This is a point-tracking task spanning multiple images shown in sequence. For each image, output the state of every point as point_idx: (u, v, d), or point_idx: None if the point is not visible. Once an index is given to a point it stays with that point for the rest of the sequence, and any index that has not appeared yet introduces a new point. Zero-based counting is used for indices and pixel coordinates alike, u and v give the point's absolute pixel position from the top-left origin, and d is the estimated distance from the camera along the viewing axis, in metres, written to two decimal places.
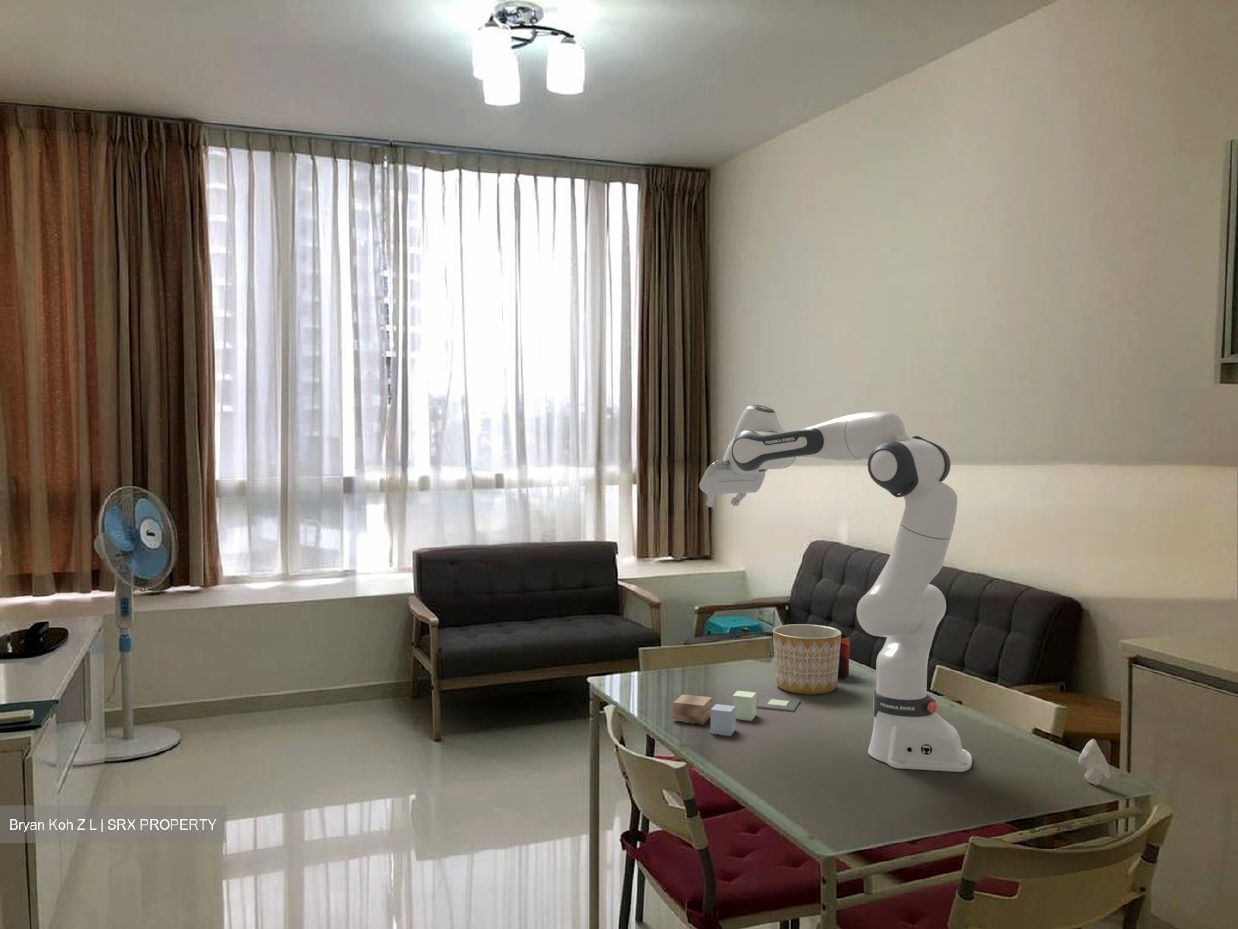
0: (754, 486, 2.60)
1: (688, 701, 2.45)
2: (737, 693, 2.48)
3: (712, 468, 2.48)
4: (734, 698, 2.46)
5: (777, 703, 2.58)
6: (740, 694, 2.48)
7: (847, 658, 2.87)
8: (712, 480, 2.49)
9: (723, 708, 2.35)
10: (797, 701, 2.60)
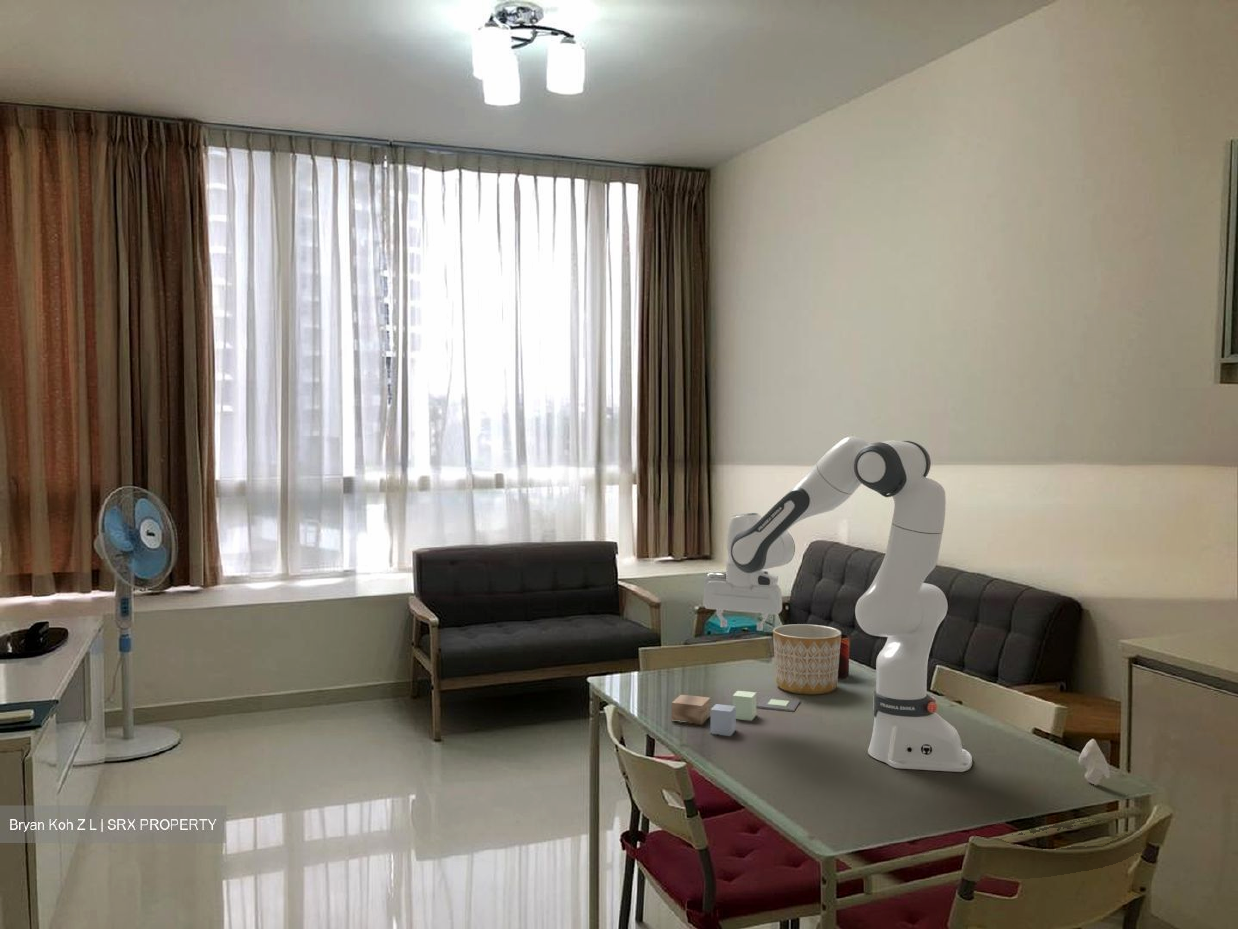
0: (770, 606, 2.44)
1: (686, 702, 2.45)
2: (737, 693, 2.48)
3: (705, 580, 2.50)
4: (734, 698, 2.46)
5: (777, 703, 2.58)
6: (740, 694, 2.48)
7: (847, 658, 2.87)
8: (705, 592, 2.49)
9: (723, 708, 2.35)
10: (797, 701, 2.60)
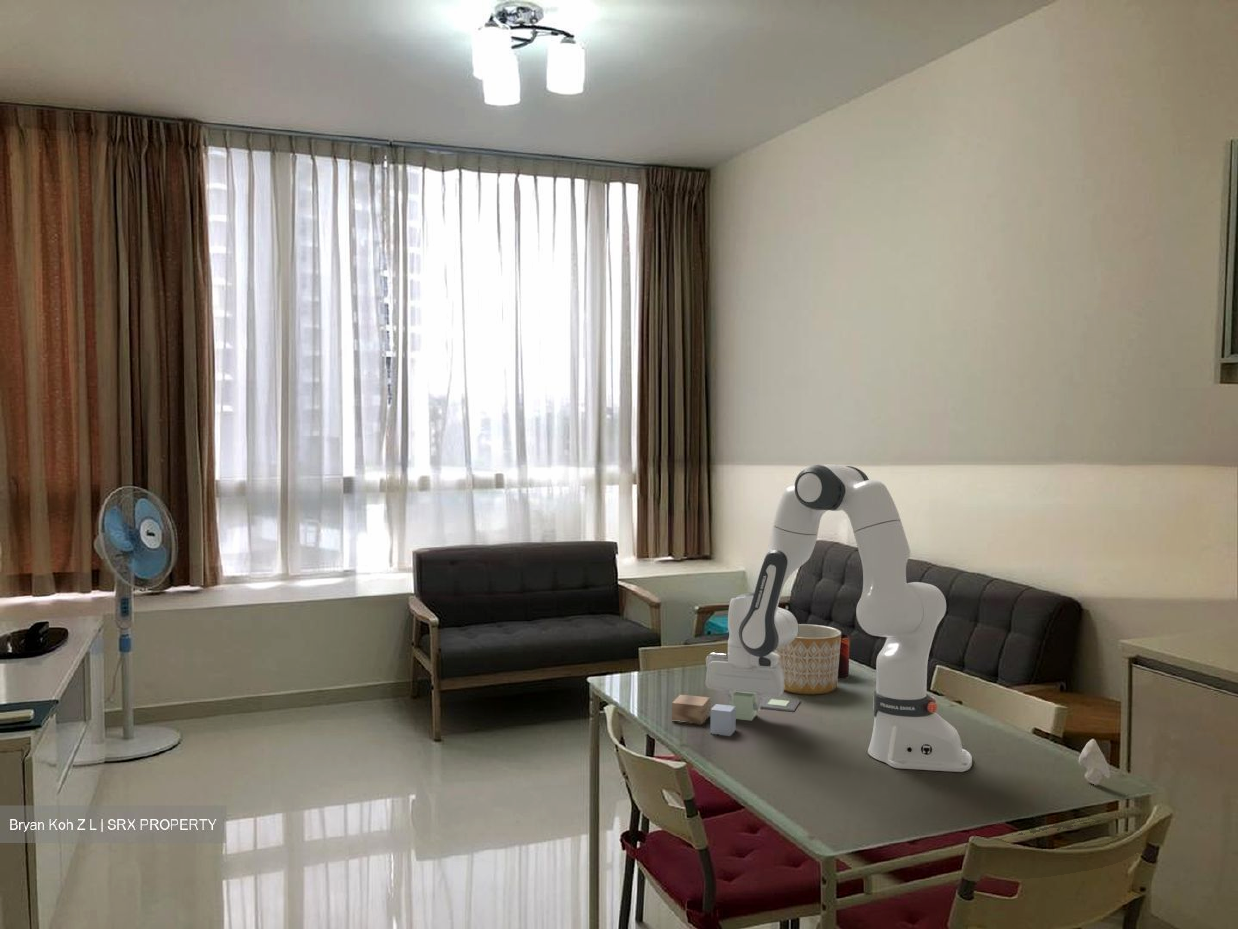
0: (771, 687, 2.43)
1: (687, 702, 2.44)
2: (737, 693, 2.48)
3: (707, 660, 2.51)
4: (734, 698, 2.46)
5: (777, 703, 2.58)
6: (740, 694, 2.48)
7: (847, 658, 2.88)
8: (707, 672, 2.49)
9: (723, 708, 2.35)
10: (797, 701, 2.60)
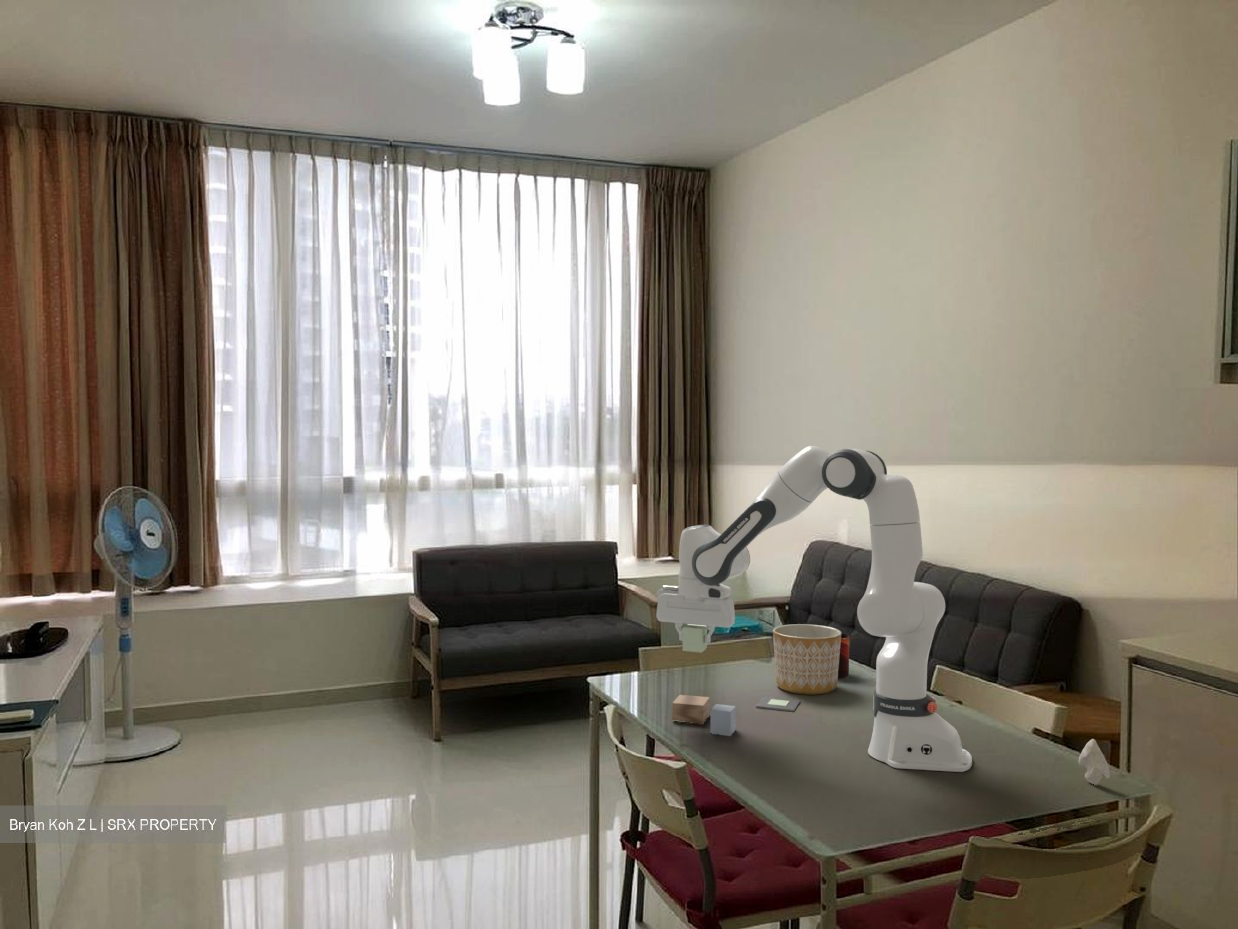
0: (721, 618, 2.42)
1: (687, 702, 2.44)
2: (688, 625, 2.47)
3: (659, 592, 2.49)
4: (684, 630, 2.45)
5: (777, 703, 2.58)
6: (690, 626, 2.46)
7: (847, 658, 2.88)
8: (658, 604, 2.48)
9: (723, 708, 2.35)
10: (797, 701, 2.60)
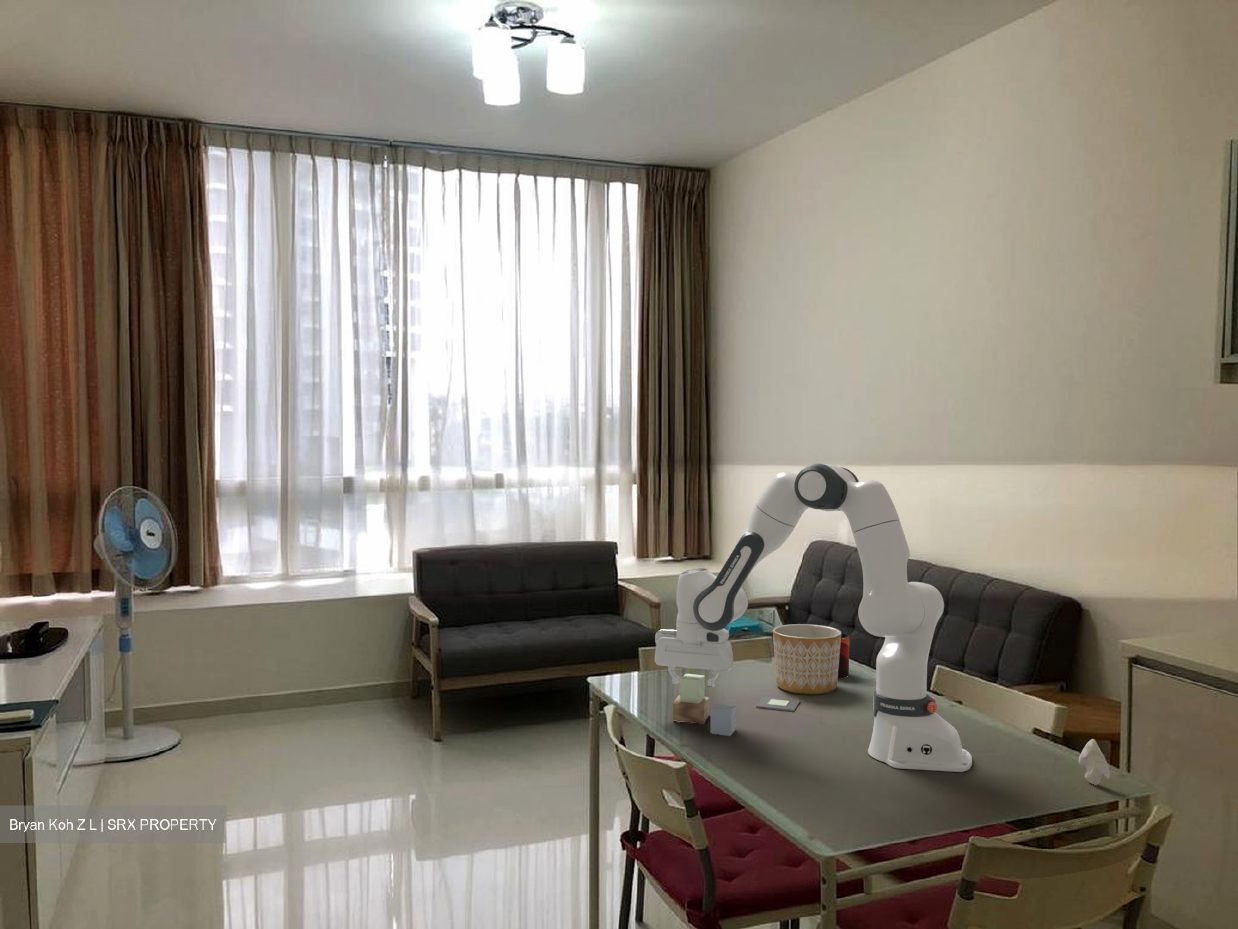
0: (719, 662, 2.42)
1: (687, 702, 2.44)
2: (685, 676, 2.47)
3: (657, 636, 2.49)
4: (681, 681, 2.45)
5: (777, 703, 2.58)
6: (687, 677, 2.46)
7: (847, 657, 2.88)
8: (656, 648, 2.48)
9: (723, 708, 2.35)
10: (797, 701, 2.60)
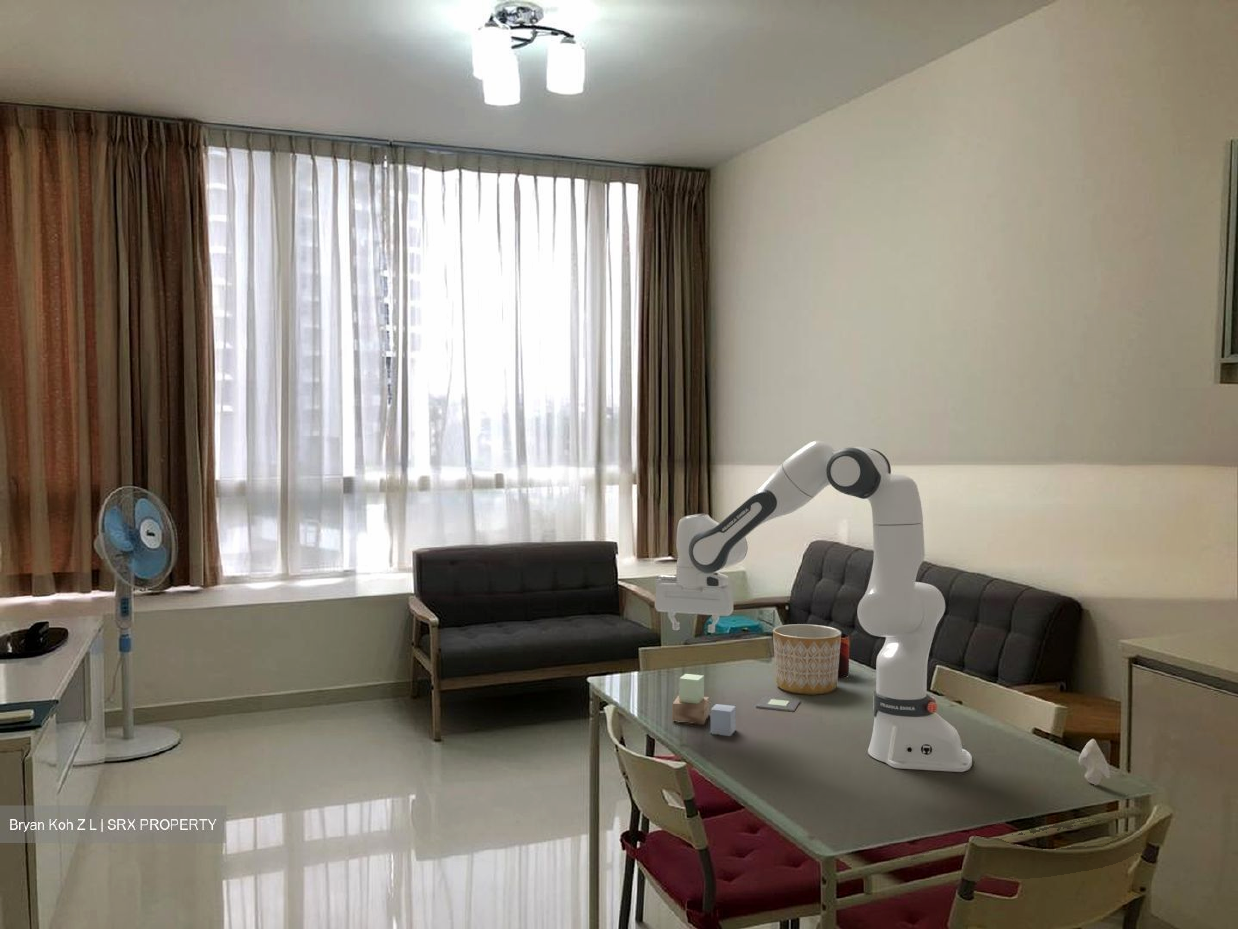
0: (720, 607, 2.41)
1: None
2: (684, 676, 2.47)
3: (657, 583, 2.49)
4: (681, 681, 2.45)
5: (777, 703, 2.58)
6: (687, 677, 2.46)
7: (847, 657, 2.88)
8: (656, 594, 2.47)
9: (723, 708, 2.35)
10: (797, 701, 2.60)
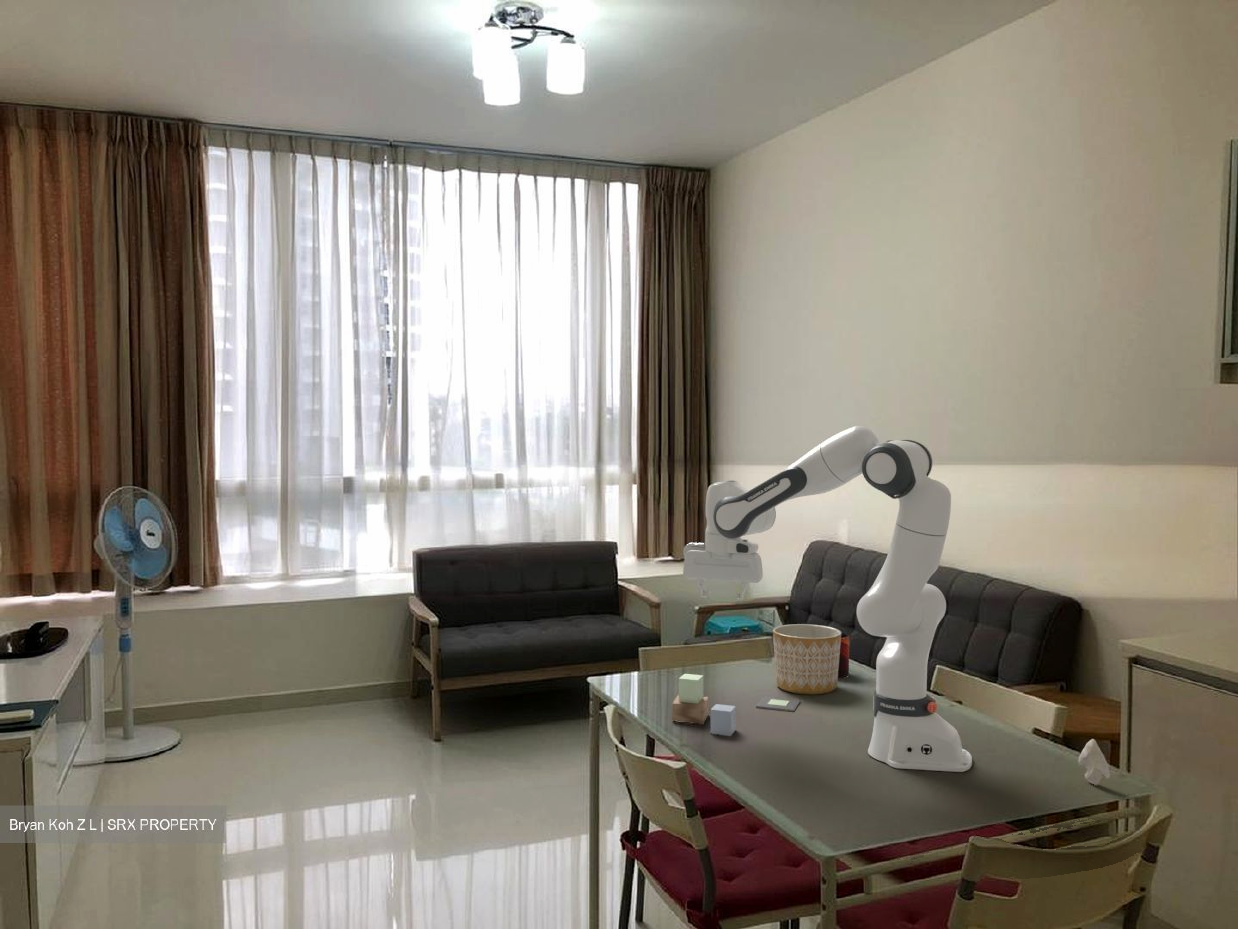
0: (749, 574, 2.40)
1: None
2: (684, 676, 2.47)
3: (685, 550, 2.48)
4: (680, 681, 2.44)
5: (777, 703, 2.58)
6: (686, 677, 2.46)
7: (847, 657, 2.88)
8: (684, 562, 2.46)
9: (723, 708, 2.35)
10: (797, 701, 2.60)
